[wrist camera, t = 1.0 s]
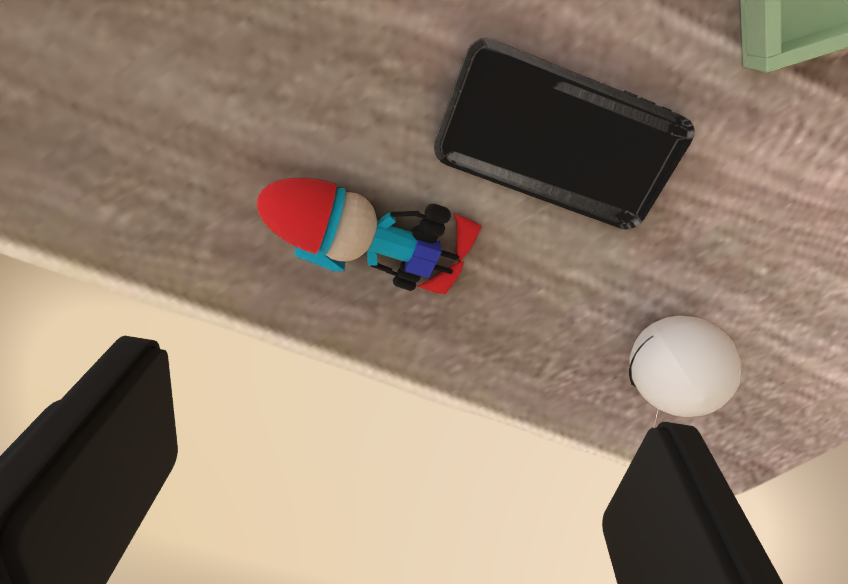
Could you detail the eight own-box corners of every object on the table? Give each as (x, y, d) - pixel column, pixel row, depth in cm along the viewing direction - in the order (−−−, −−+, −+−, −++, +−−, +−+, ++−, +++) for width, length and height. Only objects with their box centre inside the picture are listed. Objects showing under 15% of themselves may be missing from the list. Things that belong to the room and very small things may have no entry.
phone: (635, 234, 36) (429, 158, 34) (630, 227, 37) (429, 154, 35) (703, 122, 32) (475, 30, 30) (695, 118, 33) (474, 29, 31)
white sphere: (646, 284, 39) (684, 341, 33) (734, 313, 40) (787, 374, 34) (584, 382, 44) (607, 448, 38) (663, 406, 45) (698, 474, 38)
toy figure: (482, 205, 38) (275, 133, 34) (494, 241, 34) (263, 166, 30) (440, 283, 42) (252, 228, 38) (447, 323, 38) (238, 268, 34)
